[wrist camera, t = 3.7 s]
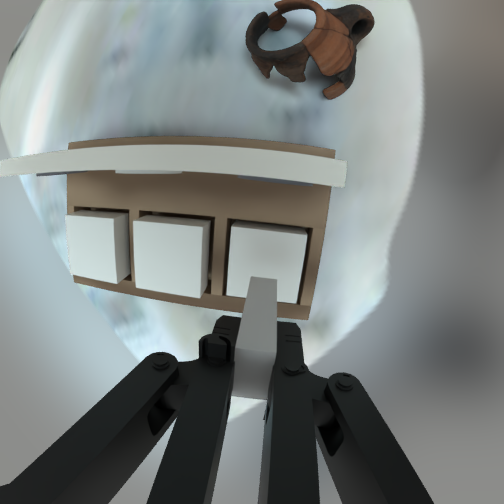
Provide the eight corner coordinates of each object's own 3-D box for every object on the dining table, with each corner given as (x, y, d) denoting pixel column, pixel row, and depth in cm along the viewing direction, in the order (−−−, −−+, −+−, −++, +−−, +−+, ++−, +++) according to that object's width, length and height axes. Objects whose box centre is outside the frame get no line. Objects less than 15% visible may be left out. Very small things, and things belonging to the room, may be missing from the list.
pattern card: (77, 155, 22) (0, 160, 12) (315, 164, 20) (347, 161, 11) (77, 170, 22) (0, 181, 12) (313, 182, 21) (343, 195, 11)
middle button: (147, 214, 23) (133, 220, 21) (210, 220, 23) (202, 227, 21) (148, 276, 25) (136, 287, 23) (207, 285, 25) (200, 298, 22)
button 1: (81, 209, 24) (64, 215, 21) (128, 213, 24) (113, 218, 21) (85, 265, 26) (70, 274, 23) (130, 273, 25) (117, 283, 23)
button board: (90, 143, 25) (68, 142, 21) (326, 152, 24) (335, 150, 20) (93, 269, 30) (74, 282, 26) (304, 300, 28) (308, 320, 24)
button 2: (236, 220, 24) (231, 226, 22) (304, 228, 24) (307, 235, 21) (231, 282, 26) (226, 295, 23) (294, 290, 26) (296, 303, 23)
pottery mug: (313, 125, 24) (270, 87, 17) (265, 71, 26) (219, 35, 19) (404, 60, 18) (391, 3, 11) (343, 14, 20) (314, -35, 13)
